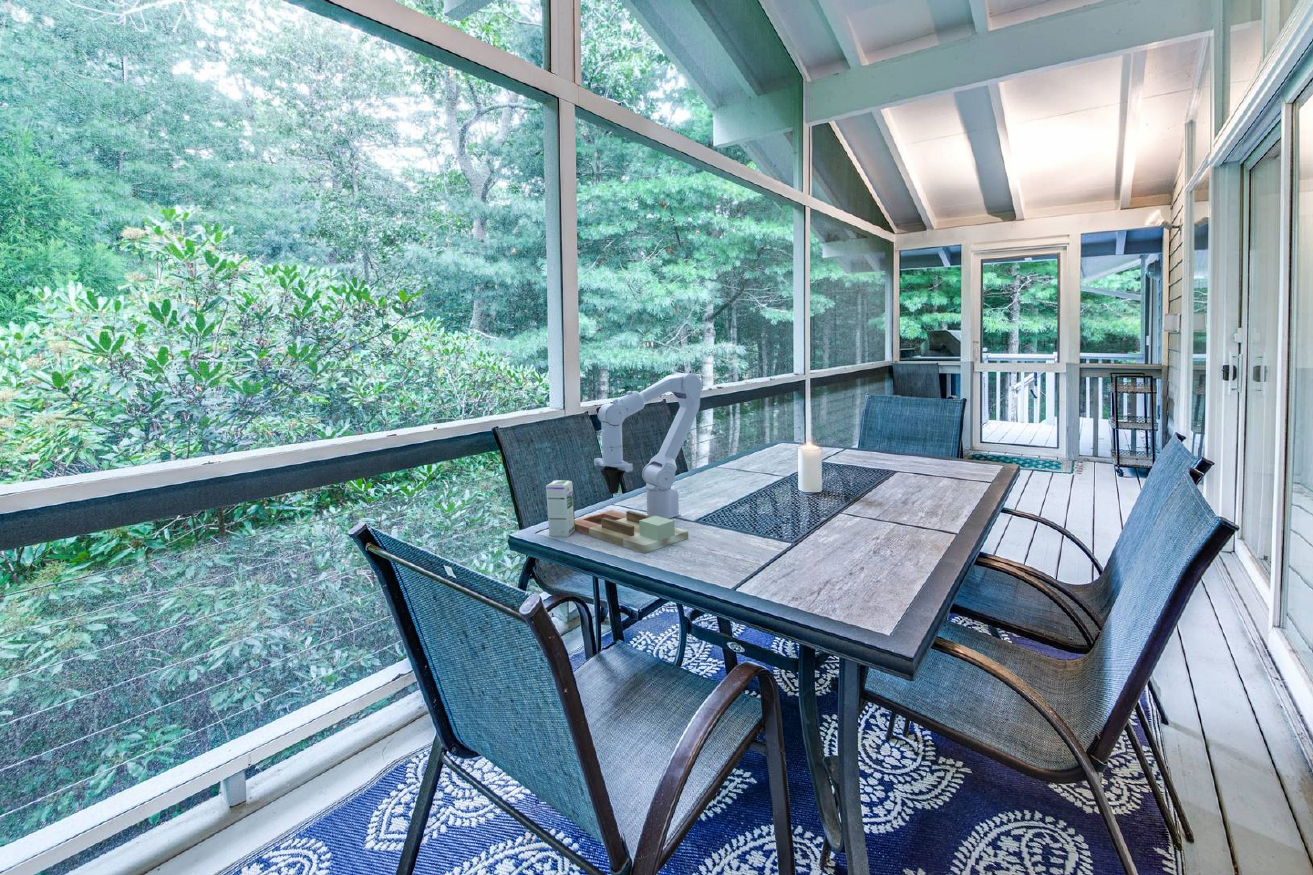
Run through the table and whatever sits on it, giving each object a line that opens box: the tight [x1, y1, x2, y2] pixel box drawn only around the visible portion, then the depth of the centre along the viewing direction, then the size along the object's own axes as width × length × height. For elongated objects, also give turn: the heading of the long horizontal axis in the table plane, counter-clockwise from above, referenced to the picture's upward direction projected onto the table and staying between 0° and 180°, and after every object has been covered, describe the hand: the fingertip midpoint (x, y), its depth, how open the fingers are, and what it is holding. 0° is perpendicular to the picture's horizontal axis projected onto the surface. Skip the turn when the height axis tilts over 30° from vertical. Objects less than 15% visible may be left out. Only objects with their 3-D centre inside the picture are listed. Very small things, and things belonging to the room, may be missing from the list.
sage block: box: [639, 516, 676, 541], centre depth 163 cm, size 6×7×4 cm
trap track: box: [574, 509, 689, 554], centre depth 172 cm, size 16×31×4 cm, turn 44°
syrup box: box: [545, 479, 576, 537], centre depth 172 cm, size 6×6×14 cm
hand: (613, 492), depth 178 cm, fingers closed
